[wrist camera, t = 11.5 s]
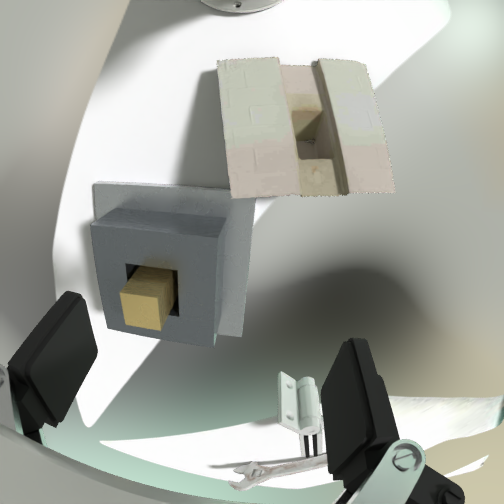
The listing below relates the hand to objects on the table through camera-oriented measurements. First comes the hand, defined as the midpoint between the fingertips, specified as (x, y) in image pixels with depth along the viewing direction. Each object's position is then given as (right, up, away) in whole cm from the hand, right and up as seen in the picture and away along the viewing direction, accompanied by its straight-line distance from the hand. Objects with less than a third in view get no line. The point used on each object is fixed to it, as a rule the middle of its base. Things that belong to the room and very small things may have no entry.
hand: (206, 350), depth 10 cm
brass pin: (-9, +2, +27) cm, 28 cm away
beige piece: (+7, +18, +20) cm, 28 cm away
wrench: (+11, -46, +50) cm, 68 cm away
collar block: (-9, +2, +28) cm, 29 cm away
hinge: (+10, -21, +38) cm, 44 cm away
